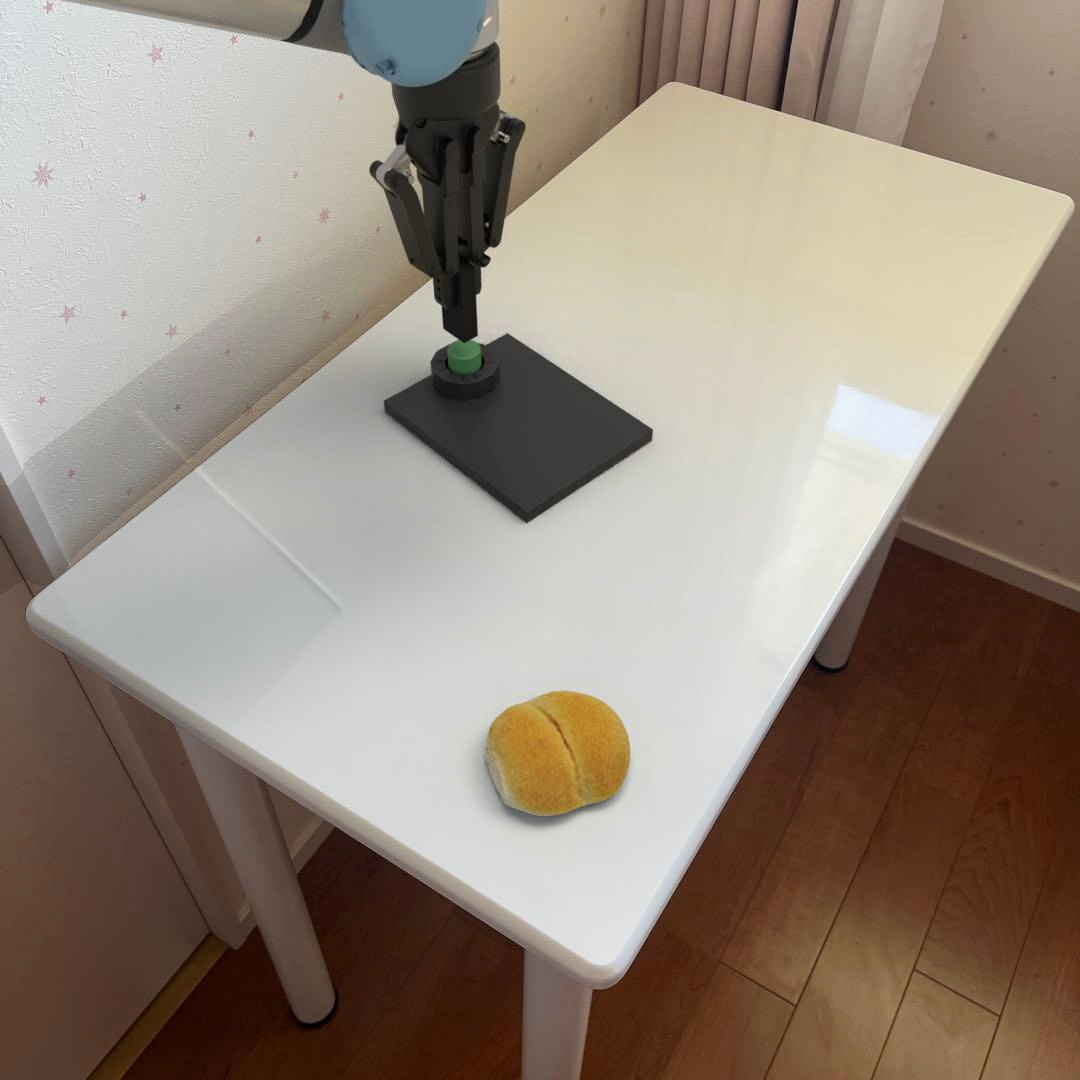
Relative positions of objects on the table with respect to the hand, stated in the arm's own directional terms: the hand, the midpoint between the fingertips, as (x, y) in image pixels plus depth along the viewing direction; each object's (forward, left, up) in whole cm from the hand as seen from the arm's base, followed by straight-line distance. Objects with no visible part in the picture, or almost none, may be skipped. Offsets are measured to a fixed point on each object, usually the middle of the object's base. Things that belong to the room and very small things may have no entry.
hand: (460, 332), depth 91 cm
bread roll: (+33, -20, -6) cm, 39 cm away
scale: (+7, 0, -6) cm, 9 cm away
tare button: (0, 0, -4) cm, 4 cm away
